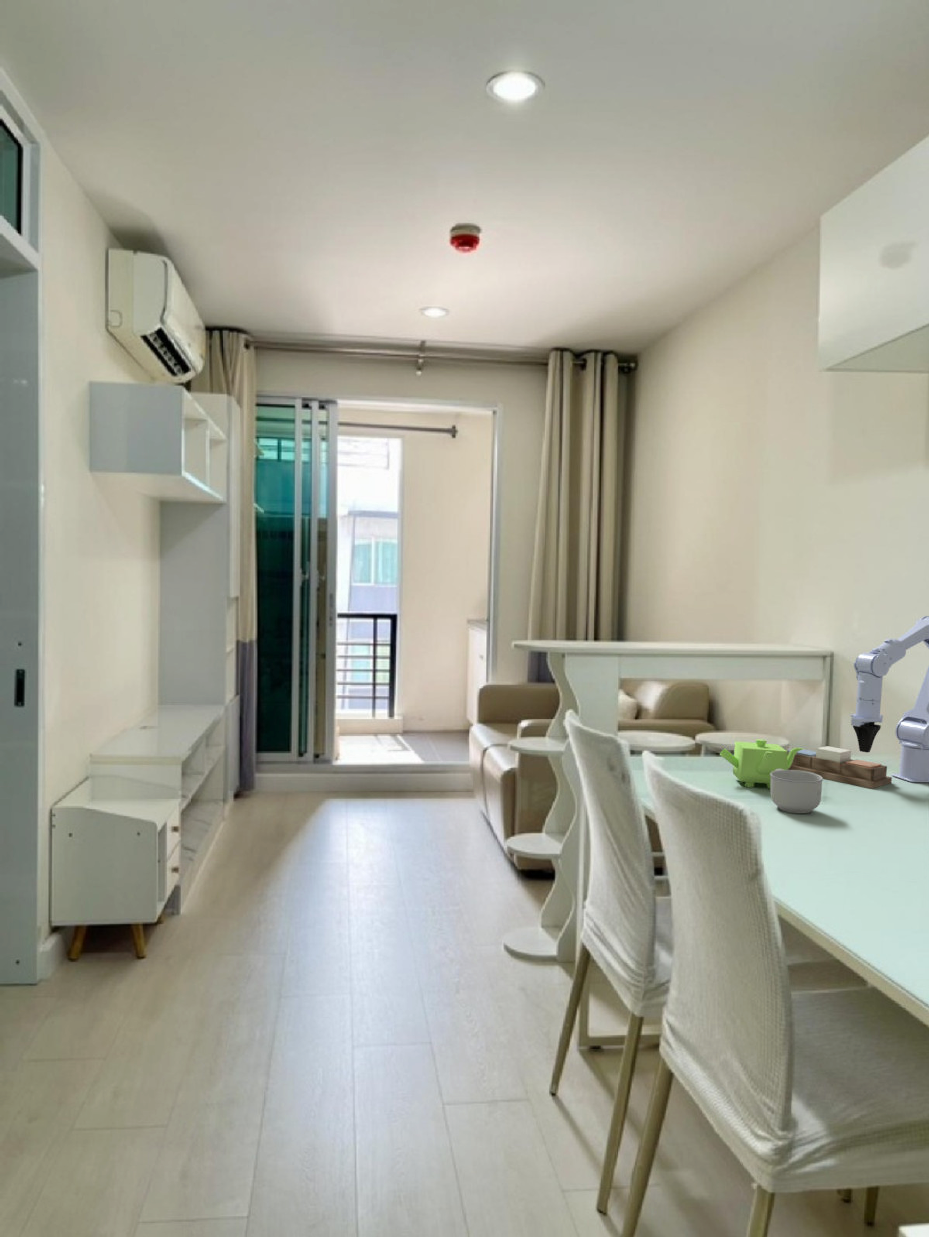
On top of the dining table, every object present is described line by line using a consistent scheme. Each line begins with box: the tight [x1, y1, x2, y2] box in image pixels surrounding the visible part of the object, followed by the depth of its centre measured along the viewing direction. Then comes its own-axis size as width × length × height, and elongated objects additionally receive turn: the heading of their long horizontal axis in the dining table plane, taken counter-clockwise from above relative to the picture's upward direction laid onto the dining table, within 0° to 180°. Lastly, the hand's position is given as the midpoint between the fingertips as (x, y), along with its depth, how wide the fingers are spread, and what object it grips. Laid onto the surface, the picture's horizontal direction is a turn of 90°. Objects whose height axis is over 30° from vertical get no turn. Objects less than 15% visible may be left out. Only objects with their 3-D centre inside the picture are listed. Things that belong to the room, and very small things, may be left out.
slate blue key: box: [787, 748, 816, 757], centre depth 239 cm, size 6×6×3 cm
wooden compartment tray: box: [786, 750, 893, 789], centre depth 233 cm, size 26×12×4 cm, turn 43°
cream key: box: [815, 745, 852, 763], centre depth 233 cm, size 6×6×3 cm
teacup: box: [770, 769, 824, 814], centre depth 195 cm, size 14×11×8 cm
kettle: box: [719, 738, 805, 790], centre depth 217 cm, size 15×14×11 cm
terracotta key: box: [846, 759, 882, 769], centre depth 227 cm, size 6×6×3 cm
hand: (864, 751), depth 227 cm, fingers closed
